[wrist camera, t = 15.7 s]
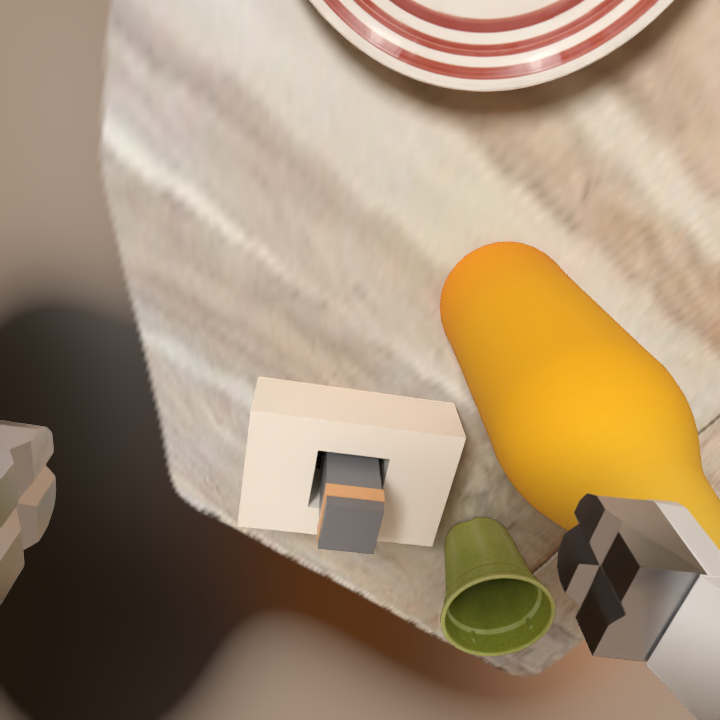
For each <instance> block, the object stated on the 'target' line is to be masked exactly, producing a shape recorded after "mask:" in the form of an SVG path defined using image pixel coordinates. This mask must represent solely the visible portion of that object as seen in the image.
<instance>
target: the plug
mask: <svg viewBox="0 0 720 720" xmlns="http://www.w3.org/2000/svg"><path fill="white" fill-rule="evenodd" d="M384 503H385V497H384V490H382V486H381V478H380V469H379V460H378V458H376V457H367V456H359V455H351V454H343V453H335V452H327V451H322V457H321V462H320V498H319V521H318V526H317V539H318V549H328V550H337V551H347V552H357V553H367V554H374V550H375V546H376V542H377V538H378V534H379V531H380V527H381V523H382V519H383V515H384Z"/></svg>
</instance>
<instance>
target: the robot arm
mask: <svg viewBox="0 0 720 720" xmlns="http://www.w3.org/2000/svg"><path fill="white" fill-rule="evenodd" d="M53 452H54V448H53V439H52V433H51V431H50V430H49V429H48V428H47V427H42V426H36V425H28V424H22V423H15V422H7V421H0V604H1V603H2V601H3V600H4V598H5V596H6V595H7V593H8V591H9V590H10V588H11V586H12V585H13V583H14V581H15V580H16V578H17V576H18V575H19V573H20V572H21V570H22V568H23V567H24V556H23V550H24V549H26V548H28V547H29V546H31V545H33V544H35V543H36V542H38V541H39V540H40V538H41V536H42V535H43V533H44V531H45V529H46V527H47V526H48V523H49V520H50V517H51V514H52V511H53V508H54V503H55V494H56V479H55V476H54V475H53V473H52V472H51V471H50V470H49V469H48V468H47V466H46V465H45V464H46V463H47V461H48V459H49V458H50V457H51V455H52V454H53ZM574 514H575V516H576V519H577V522H578V525H576V526H575V527H573V528H572V529H571V530H569V531H568V532H566V533H565V534H564V536H563V539H562V542H561V544H560V547H559V549H558V563H557V568H558V573H559V579H560V582H561V584H562V587H563V589H564V592H565V594H567V595H568V596H569V597H570V598H571V599H572V600H573V601H574V602H576V603H577V604H578V605H579V606H580V607H579V610H578V613H577V615H576V619H577V622H578V624H579V626H580V628H581V631H582V633H583V635H584V638H585V640H586V642H587V644H588V647H589V649H590V651H591V653H592V655H593V656H599V657H608V658H616V659H625V660H634V661H642V662H647V663H646V666H647V667H648V668H649V669H650V670H652V672H653V673H654V674H655V675H656V676H657V677H658V678H659V679H660V680H661V681H662V682H663V683H664V684H665V685H666V686H667V687H668V689H670V691H671V692H672V693H673V694H674V695H675V696H676V697H677V698H678V699H679V700H680V701H681V702H682V703H683V704H684V705H685V706H686V707H687V708H688V709H689V710H690V711H691V713H692V714H693V715H694V716H695V717H696V718H697V719H698V720H720V550H719V549H718V547H717V546H716V545H715V544H714V542H713V541H712V540H711V539H710V537H709V536H708V535H707V534H706V532H705V531H704V530H703V528H702V527H701V526H700V525H699V523H698V522H697V521H696V520H695V518H694V517H693V516H692V514H691V513H690V512H689V511H688V509H687V508H686V507H684V506H683V505H681V504H679V503H678V502H673V501H662V500H651V499H646V500H641V499H632V498H624V497H615V496H606V495H598V494H589V493H587V494H586V495H585V496H584V497H583V498H582V499H581V500H580V501H579V503H578V505H577V507H576V509H575V512H574Z"/></svg>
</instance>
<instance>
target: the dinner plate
mask: <svg viewBox="0 0 720 720" xmlns="http://www.w3.org/2000/svg"><path fill="white" fill-rule="evenodd" d="M673 1H674V0H309V2H310V3H311V4H312V5H313V6H314V7H315V9H316V10H317V11H318V12H319V13H320V15H321V16H322V17H323V18H324V19H325V20H326V21H327V22H328V23H329V24H330V25H331V26H332V27H333V28H334V29H335V30H336V31H337V32H338V33H339V34H340V35H341V36H343V37H344V38H345V39H346V40H347V41H349V42H350V43H351V44H352V45H354V46H355V47H356V48H357V49H359V50H360V51H362V52H363V53H365V54H366V55H367V56H369V57H370V58H372V59H374V60H375V61H377V62H379V63H380V64H382V65H384V66H386V67H387V68H389V69H391V70H393V71H395V72H398V73H400V74H402V75H404V76H407V77H409V78H412V79H414V80H417V81H420V82H423V83H427V84H430V85H434V86H438V87H443V88H448V89H453V90H462V91H475V92H492V91H506V90H514V89H520V88H526V87H530V86H535V85H539V84H542V83H546V82H549V81H552V80H555V79H558V78H561V77H563V76H566V75H569V74H571V73H574V72H576V71H578V70H580V69H582V68H585V67H587V66H589V65H591V64H592V63H594V62H596V61H598V60H600V59H602V58H603V57H605V56H607V55H608V54H610V53H611V52H613V51H615V50H616V49H617V48H619V47H620V46H622V45H623V44H625V43H626V42H627V41H629V40H630V39H632V38H633V37H634V36H636V35H637V34H638V33H639V32H641V31H642V30H643V29H644V28H645V27H647V26H648V25H649V24H650V23H651V22H653V21H654V20H655V19H656V18H657V17H658V16H659V15H660V14H661V13H662V12H663V11H665V10H666V9H667V8H668V7H669V6H670V4H671V3H672V2H673Z"/></svg>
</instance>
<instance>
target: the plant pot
mask: <svg viewBox="0 0 720 720" xmlns="http://www.w3.org/2000/svg"><path fill="white" fill-rule="evenodd" d="M444 553H445V572H446V597H445V601H444V606H443V608H442V612H441V617H440V623H441V628H442V631H443V634H444V636H445V637H446V639H447V640H448V641H449V642H450V643H451V644H452V645H453V646H455V647H456V648H458V649H460V650H462V651H464V652H466V653H470V654H474V655H478V656H500V655H505V654H510V653H514V652H517V651H520V650H522V649H524V648H526V647H528V646H530V645H532V644H534V643H535V642H536V641H538V640H539V639H540V638H541V637H543V636H544V635H545V634H546V632H547V631H548V629H549V628H550V626H551V625H552V623H553V621H554V617H555V610H556V609H555V603H554V600H553V597H552V595H551V593H550V592H549V590H548V589H547V588H546V587H545V586H544V585H543V584H541V583H540V582H539V581H538V580H537V579H536V578H535V577H534V576H533V575H532V574H531V572H530V571H529V569H528V567H527V565H526V563H525V562H524V560H523V558H522V556H521V555H520V553H519V551H518V549H517V547H516V546H515V544H514V542H513V540H512V538H511V537H510V535H509V533H508V531H507V530H506V528H505V527H504V526H503V525H502V524H501V523H499V522H497V521H495V520H493V519H489V518H482V517H479V518H474V519H472V520H470V521H467V522H463V523H458V524H457V525H455V526H454V527H453V528H452V529H451V530H450V531H449V533H448V534H447V536H446V539H445V543H444Z"/></svg>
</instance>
